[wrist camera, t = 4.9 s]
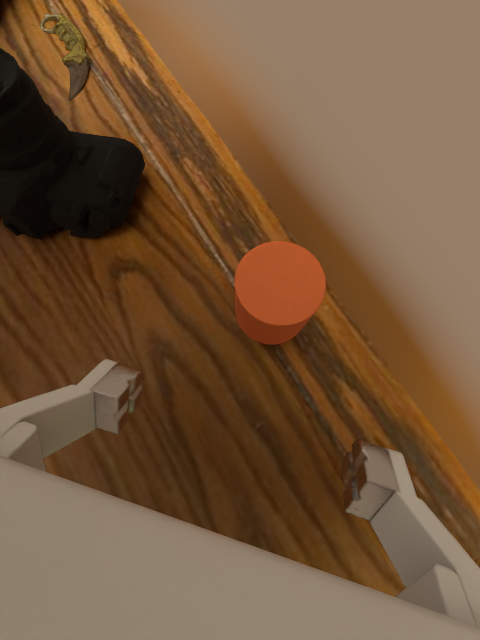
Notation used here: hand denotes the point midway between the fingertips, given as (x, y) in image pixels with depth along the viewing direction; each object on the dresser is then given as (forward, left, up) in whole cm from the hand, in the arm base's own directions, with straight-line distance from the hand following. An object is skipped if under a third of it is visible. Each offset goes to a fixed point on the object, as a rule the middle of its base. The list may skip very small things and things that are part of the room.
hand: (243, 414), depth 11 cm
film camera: (-27, -3, -7) cm, 28 cm away
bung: (-5, +5, -11) cm, 13 cm away
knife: (-42, -1, -11) cm, 43 cm away
